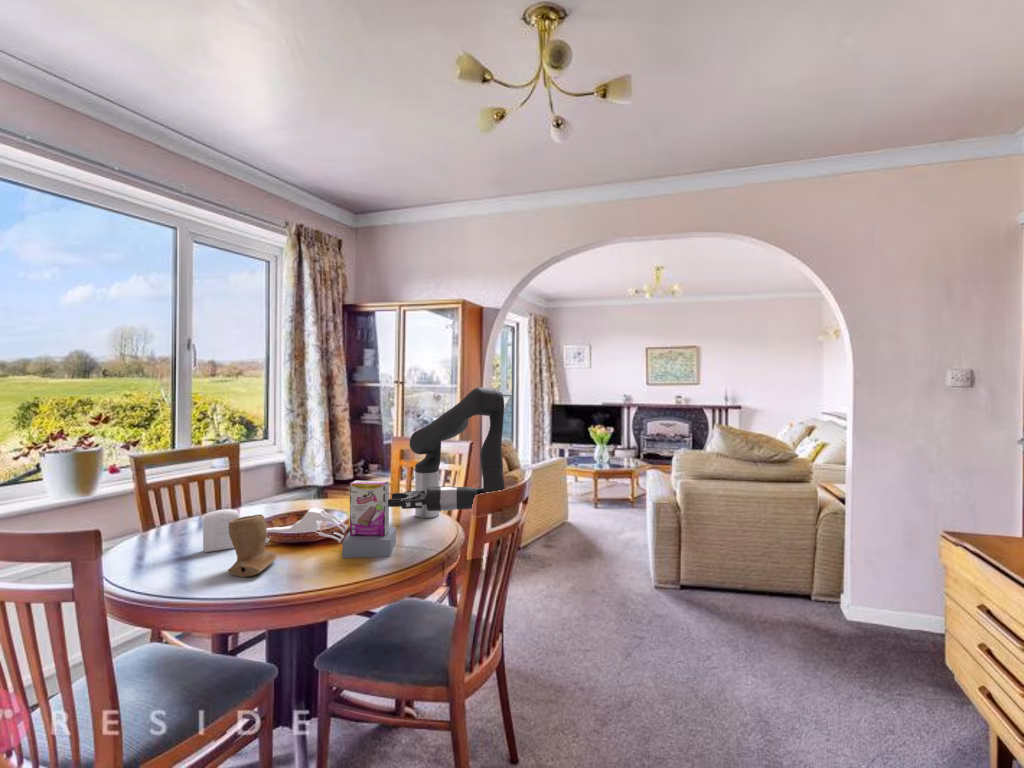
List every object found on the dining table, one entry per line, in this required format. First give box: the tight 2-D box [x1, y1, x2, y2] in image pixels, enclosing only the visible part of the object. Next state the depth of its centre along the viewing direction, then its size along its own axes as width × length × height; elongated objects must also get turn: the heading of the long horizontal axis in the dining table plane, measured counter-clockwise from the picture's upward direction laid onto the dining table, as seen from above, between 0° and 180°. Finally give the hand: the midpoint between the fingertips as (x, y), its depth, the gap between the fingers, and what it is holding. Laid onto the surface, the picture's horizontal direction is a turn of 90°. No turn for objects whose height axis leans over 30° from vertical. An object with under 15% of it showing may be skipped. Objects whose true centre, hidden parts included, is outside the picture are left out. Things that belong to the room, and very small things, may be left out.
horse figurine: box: [265, 507, 349, 545], centre depth 179 cm, size 5×16×25 cm
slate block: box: [341, 526, 397, 559], centre depth 170 cm, size 14×14×5 cm
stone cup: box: [227, 514, 277, 578], centre depth 154 cm, size 15×12×15 cm
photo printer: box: [202, 508, 241, 553], centre depth 172 cm, size 10×4×12 cm, turn 123°
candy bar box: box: [349, 480, 390, 536], centre depth 170 cm, size 11×5×16 cm, turn 87°
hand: (390, 499), depth 171 cm, fingers open, 8 cm apart
